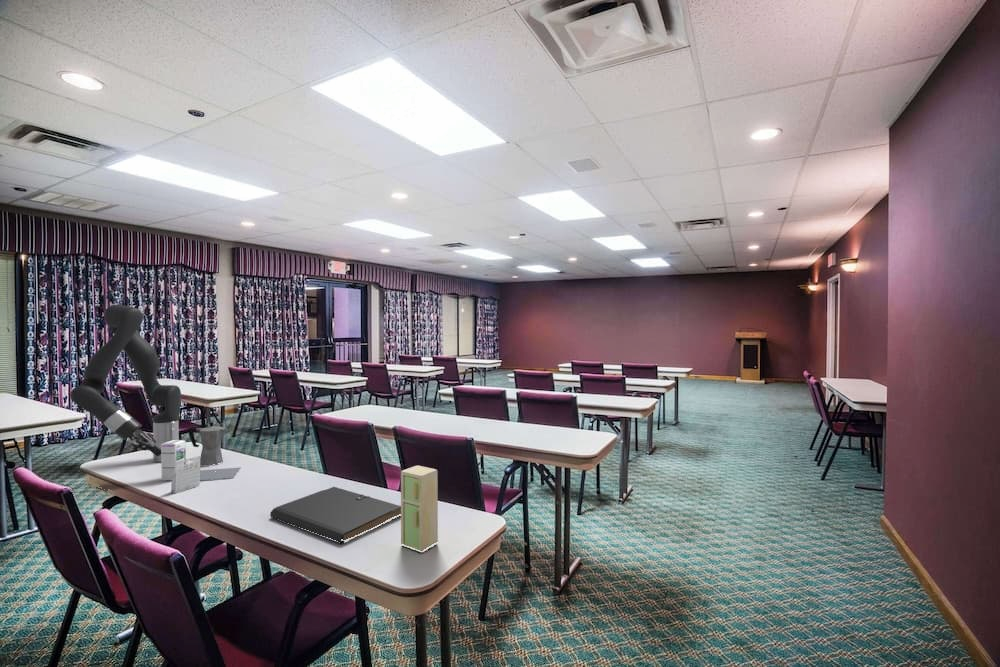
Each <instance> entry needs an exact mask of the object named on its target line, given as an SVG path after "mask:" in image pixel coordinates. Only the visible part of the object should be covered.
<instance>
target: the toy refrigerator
mask: <svg viewBox="0 0 1000 667" xmlns="http://www.w3.org/2000/svg"><path fill="white" fill-rule="evenodd" d="M438 473H439V471H438V469H435V468H432V467H427V466H424V465H422V466H421V465H414V466H411V467H408V468H406V469H403V470H401V471H400V506H401V517H400V542H401V543H400V545H401V544H404V545H406V546H409V547H412V548H415V549H417V550H420V551H423V550H424V549H426V548H427V547H429V546H431V545H432V544H434V543H436V542H439V540H438V539H439V534H438V532H439V530H438V529H439V526H438V525H439V524H438V523H439V518H438V517H439V516H438V515H439V514H438V510H439V509H438V508H439V506H438V505H439V504H438V499H439V497H438V494H439V492H438V484H439V483H438V482H439V481H438V478H439V477H438Z"/></svg>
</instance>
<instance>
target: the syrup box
mask: <svg viewBox="0 0 1000 667" xmlns="http://www.w3.org/2000/svg"><path fill="white" fill-rule="evenodd" d="M186 446H187V445H186V440H183V439H179V440H172V441H169V442H166V443H163V444H161V461H162V462H161V481H166V480H172V479H173V476H174V475H175V474H176V466H177V465H176V462H178V461H182V460H186V458H187V457H186V455H187V454H186V449H187V448H186ZM184 464H187V462H185V463H184Z"/></svg>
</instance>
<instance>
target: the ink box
mask: <svg viewBox="0 0 1000 667" xmlns="http://www.w3.org/2000/svg"><path fill="white" fill-rule="evenodd" d="M200 457H201V455H198V456H195V457H194V456H193V457H191V458H187V459H186V460H182V461H178V462H176V465H177V466H176V474H175V475H174V476H173V479H172V481H170V482H171V484H170V486H171V487H170V493H172V492H173V493H172V494H177V493H182V492H184V491H186V490H190V489H193V488H195V487H196V488H197V487H199V486H200V484H201V483H200V482H201V481H200V470H201V466H200ZM188 461H189V462H190V463H189V462H188ZM191 461H192V462H191ZM185 462H186V464H184V463H185ZM198 485H199V486H198Z"/></svg>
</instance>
